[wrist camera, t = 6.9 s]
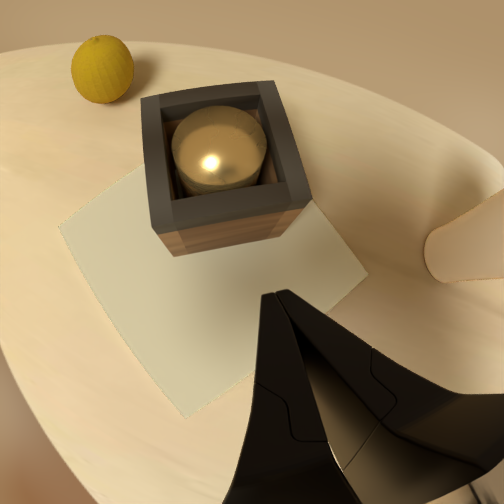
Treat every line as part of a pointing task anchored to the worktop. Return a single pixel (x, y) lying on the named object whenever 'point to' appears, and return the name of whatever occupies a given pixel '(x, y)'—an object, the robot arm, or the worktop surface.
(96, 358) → the worktop surface
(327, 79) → the worktop surface
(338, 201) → the worktop surface
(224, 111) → the peg
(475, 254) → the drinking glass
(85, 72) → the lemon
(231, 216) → the wooden box
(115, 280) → the mat
